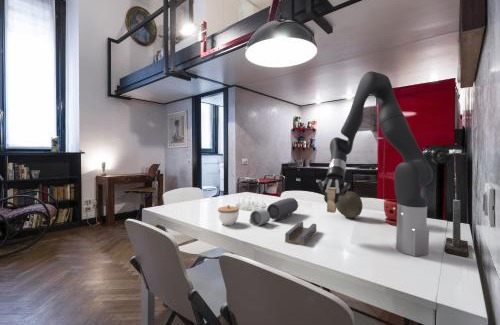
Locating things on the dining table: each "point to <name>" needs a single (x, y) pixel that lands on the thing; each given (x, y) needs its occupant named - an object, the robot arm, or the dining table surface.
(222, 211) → the lidded jar
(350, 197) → the cantaloupe
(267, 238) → the dining table surface
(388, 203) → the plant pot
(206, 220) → the dining table surface
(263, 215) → the ceramic mug
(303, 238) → the door track
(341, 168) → the robot arm
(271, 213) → the bluetooth speaker
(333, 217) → the dining table surface
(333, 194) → the light brown wooden block
